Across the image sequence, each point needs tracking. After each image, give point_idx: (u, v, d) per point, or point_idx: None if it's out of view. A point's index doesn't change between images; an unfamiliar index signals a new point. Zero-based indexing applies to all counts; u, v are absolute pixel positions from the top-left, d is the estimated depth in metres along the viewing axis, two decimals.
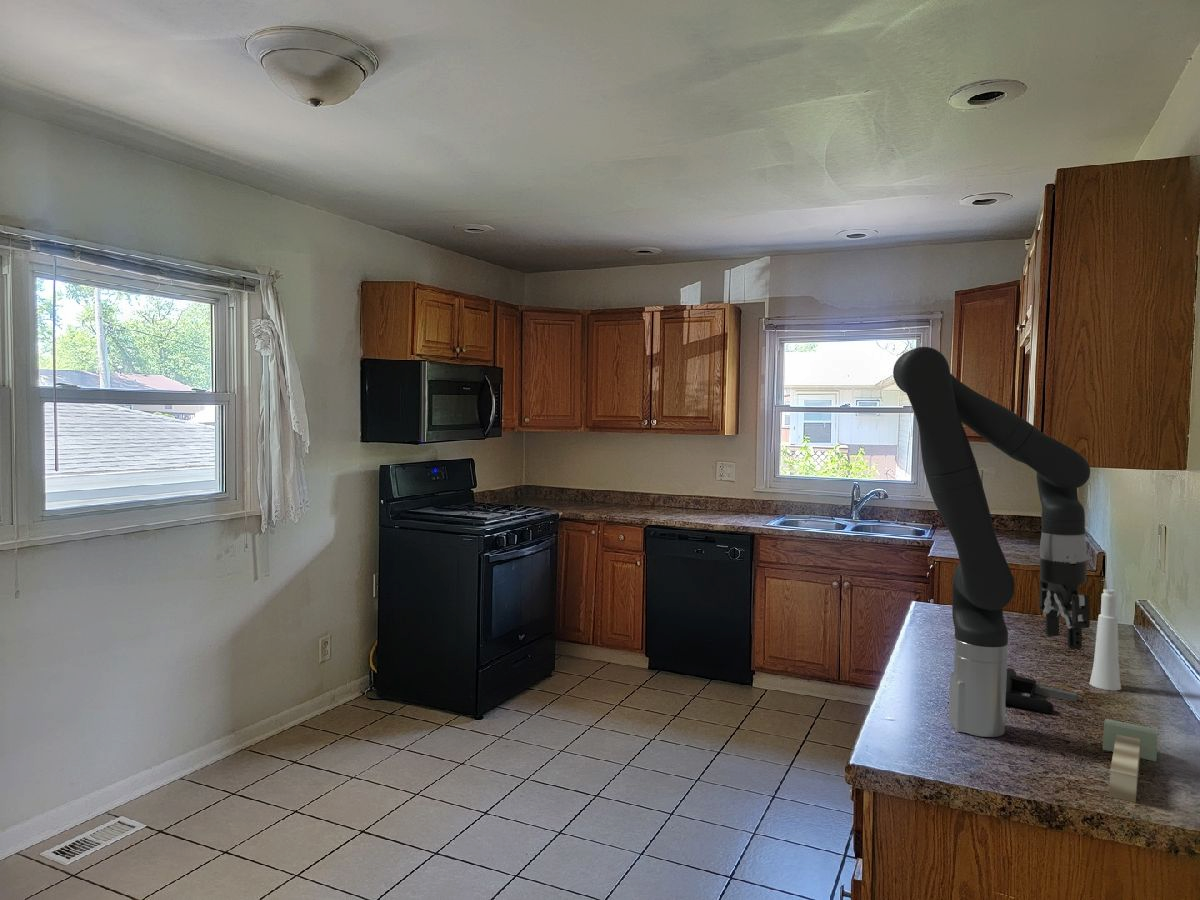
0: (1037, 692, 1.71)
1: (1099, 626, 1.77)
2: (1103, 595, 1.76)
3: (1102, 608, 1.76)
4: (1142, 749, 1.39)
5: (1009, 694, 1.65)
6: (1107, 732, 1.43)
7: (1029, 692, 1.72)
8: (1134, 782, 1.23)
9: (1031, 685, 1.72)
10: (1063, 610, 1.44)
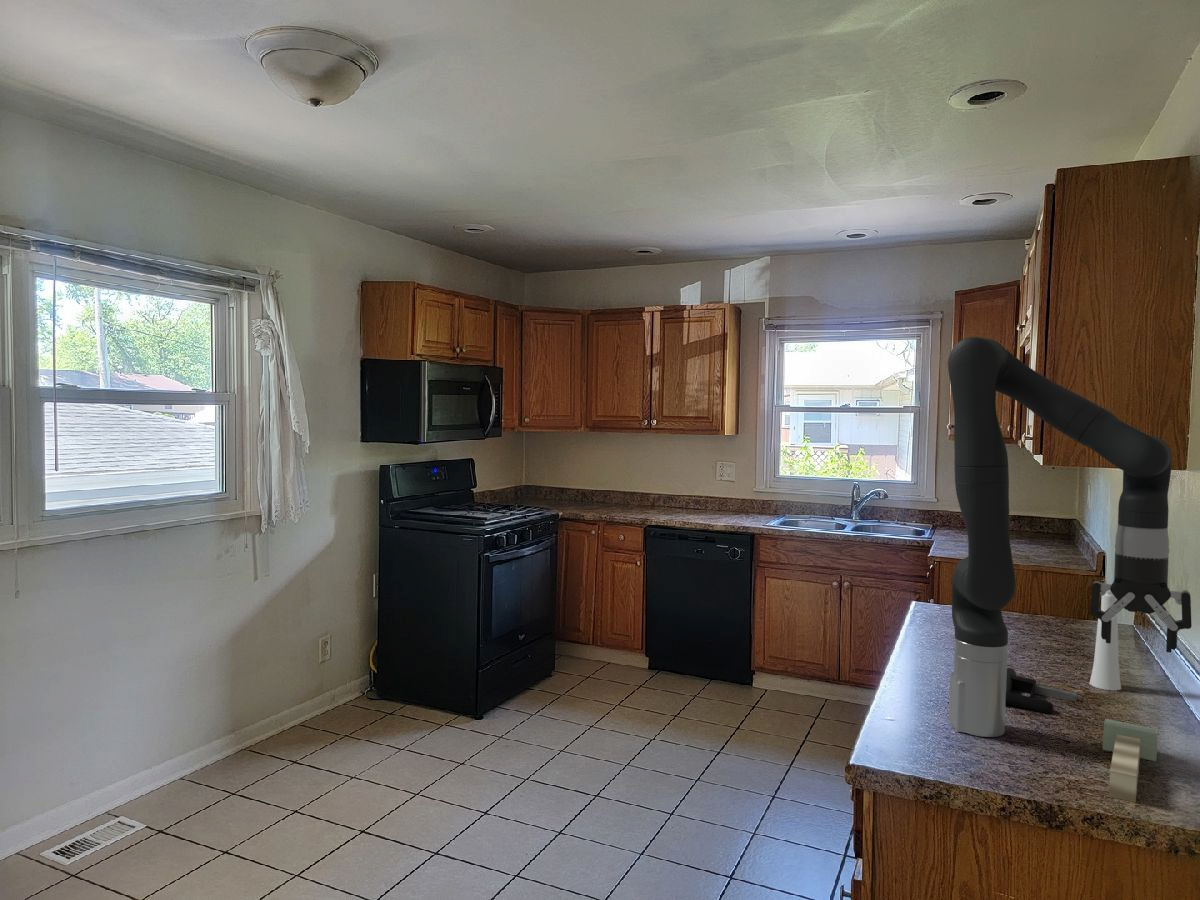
0: (1037, 692, 1.72)
1: (1099, 626, 1.77)
2: (1103, 595, 1.76)
3: (1102, 608, 1.76)
4: (1142, 749, 1.39)
5: (1009, 694, 1.65)
6: (1107, 732, 1.43)
7: (1029, 692, 1.72)
8: (1134, 782, 1.23)
9: (1031, 685, 1.72)
10: (1165, 611, 1.30)
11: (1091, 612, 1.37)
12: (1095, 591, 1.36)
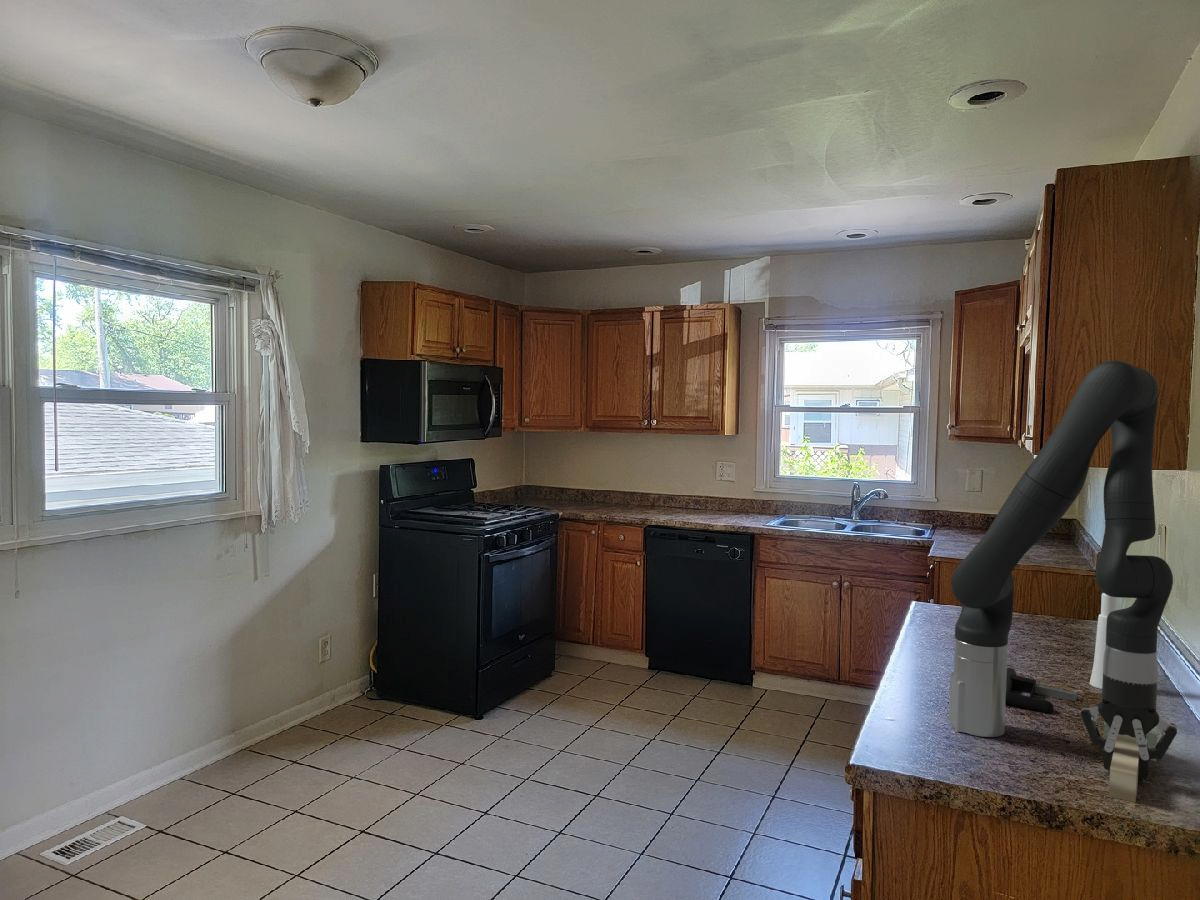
0: (1037, 692, 1.72)
1: (1099, 626, 1.77)
2: (1103, 595, 1.76)
3: (1102, 608, 1.76)
4: None
5: (1009, 693, 1.65)
6: (1107, 732, 1.43)
7: (1029, 692, 1.72)
8: (1134, 780, 1.23)
9: (1031, 685, 1.72)
10: (1144, 740, 1.28)
11: (1093, 741, 1.33)
12: (1086, 719, 1.33)
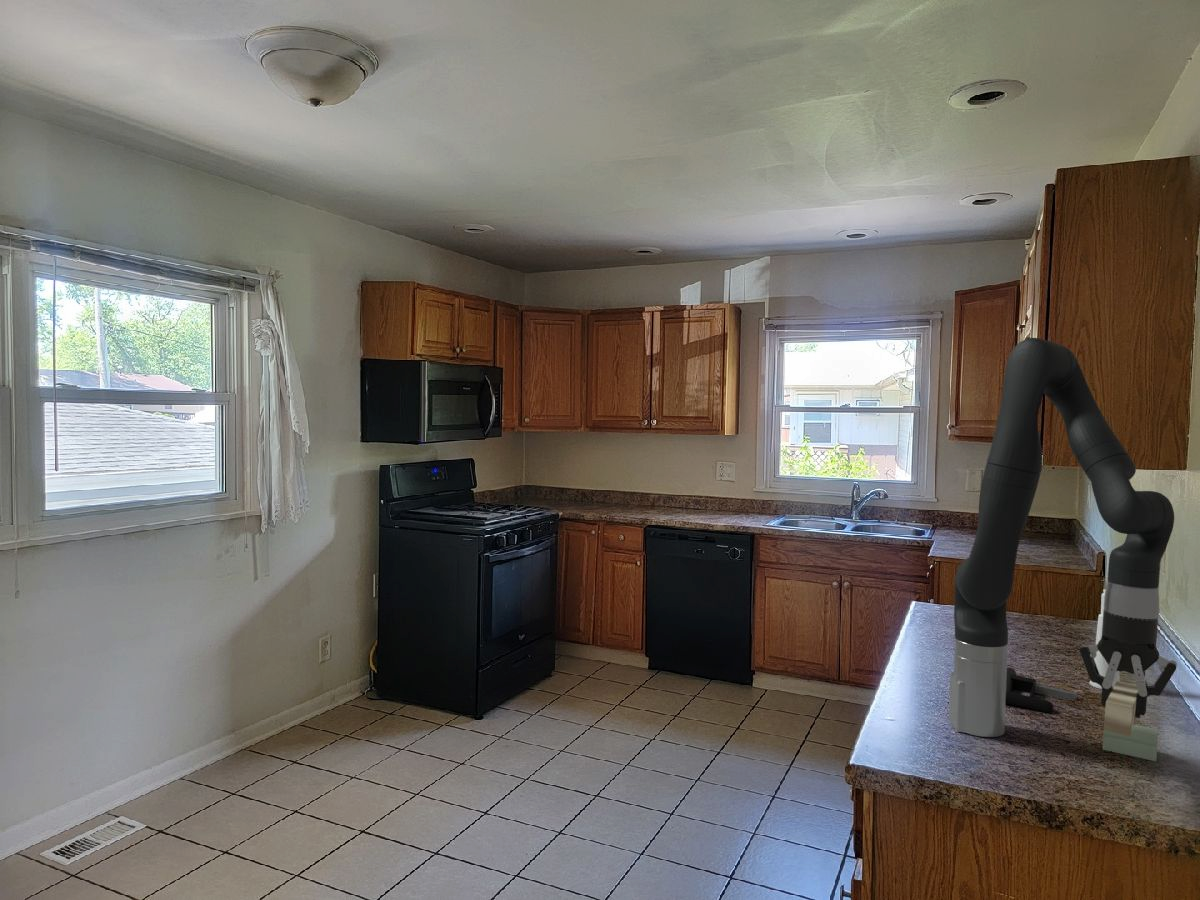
0: (1037, 691, 1.72)
1: (1099, 626, 1.77)
2: (1103, 595, 1.76)
3: (1102, 608, 1.76)
4: (1142, 749, 1.39)
5: (1009, 693, 1.65)
6: (1107, 732, 1.43)
7: (1029, 691, 1.72)
8: (1130, 713, 1.22)
9: (1031, 684, 1.72)
10: (1143, 676, 1.27)
11: (1091, 678, 1.32)
12: (1085, 656, 1.33)
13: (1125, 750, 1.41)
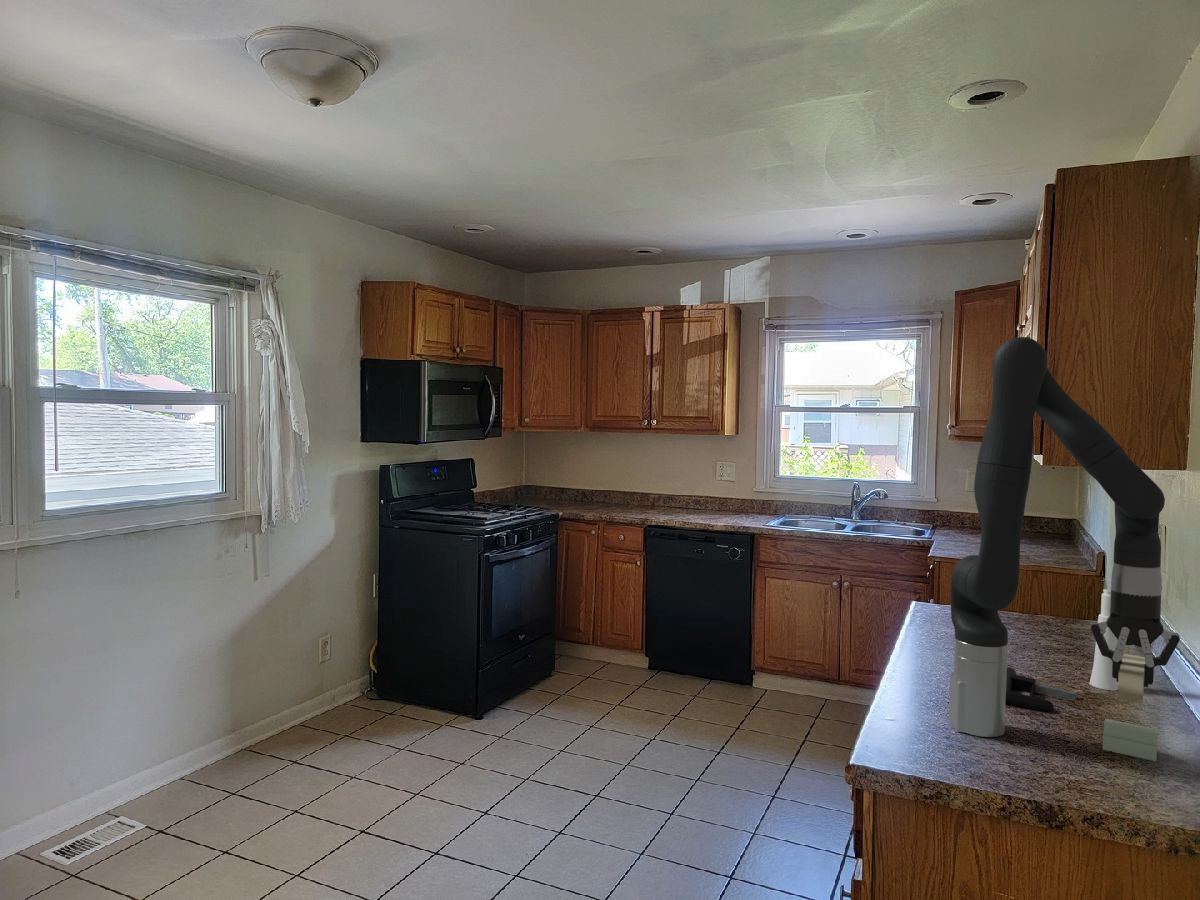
0: (1037, 691, 1.72)
1: None
2: (1103, 595, 1.76)
3: (1102, 608, 1.76)
4: (1142, 749, 1.39)
5: (1009, 693, 1.65)
6: (1107, 732, 1.43)
7: (1029, 691, 1.73)
8: (1141, 682, 1.34)
9: (1031, 684, 1.72)
10: (1150, 649, 1.39)
11: (1102, 652, 1.44)
12: (1096, 632, 1.44)
13: (1125, 750, 1.41)
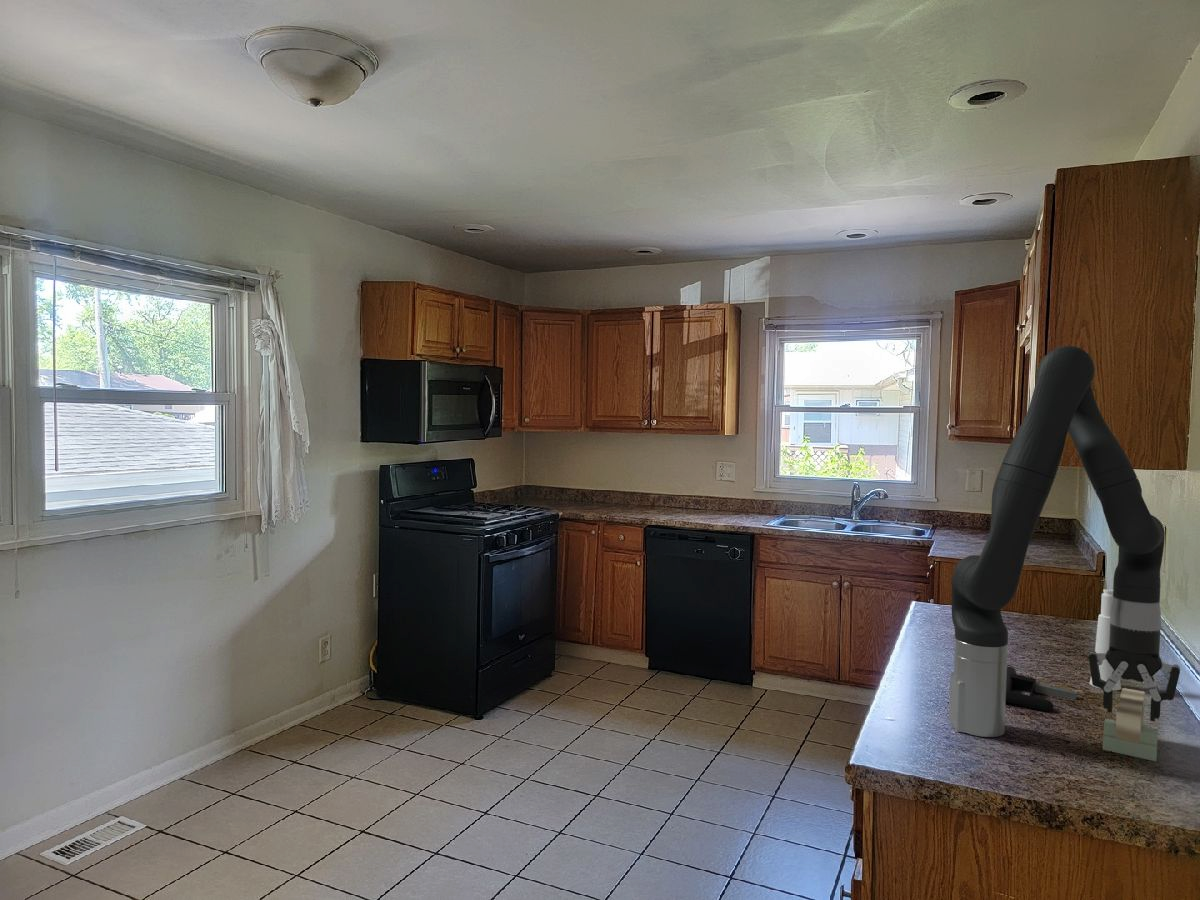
0: (1037, 690, 1.72)
1: (1099, 626, 1.77)
2: (1103, 595, 1.76)
3: (1102, 608, 1.76)
4: (1142, 749, 1.39)
5: (1009, 692, 1.65)
6: (1107, 732, 1.43)
7: (1029, 690, 1.73)
8: (1138, 722, 1.34)
9: (1031, 683, 1.72)
10: (1152, 682, 1.39)
11: (1093, 682, 1.44)
12: (1092, 662, 1.45)
13: (1125, 750, 1.41)
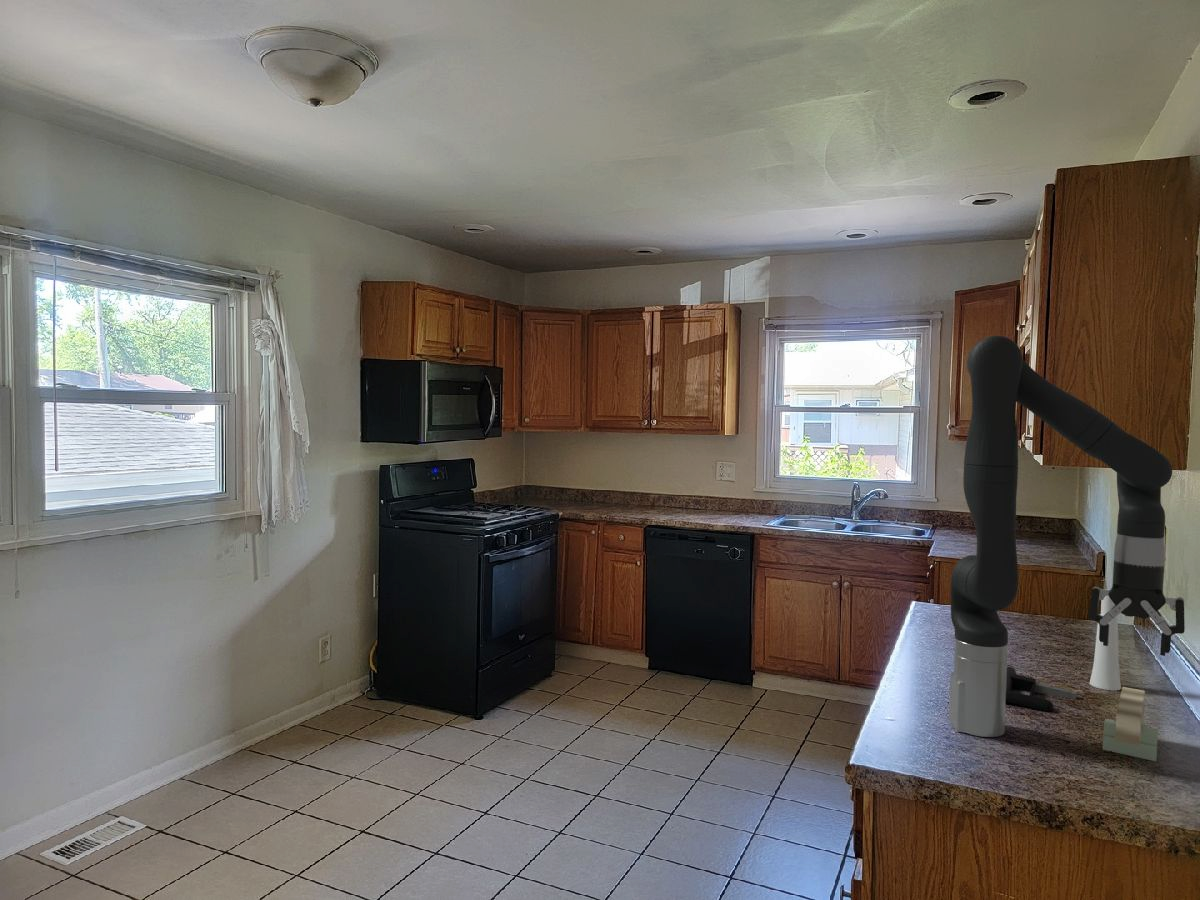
0: (1037, 690, 1.73)
1: (1099, 626, 1.77)
2: None
3: (1102, 608, 1.76)
4: (1142, 749, 1.39)
5: (1009, 692, 1.66)
6: (1107, 732, 1.43)
7: (1029, 690, 1.73)
8: (1138, 725, 1.34)
9: (1031, 683, 1.73)
10: (1159, 617, 1.38)
11: (1090, 616, 1.44)
12: (1094, 596, 1.44)
13: (1125, 750, 1.41)
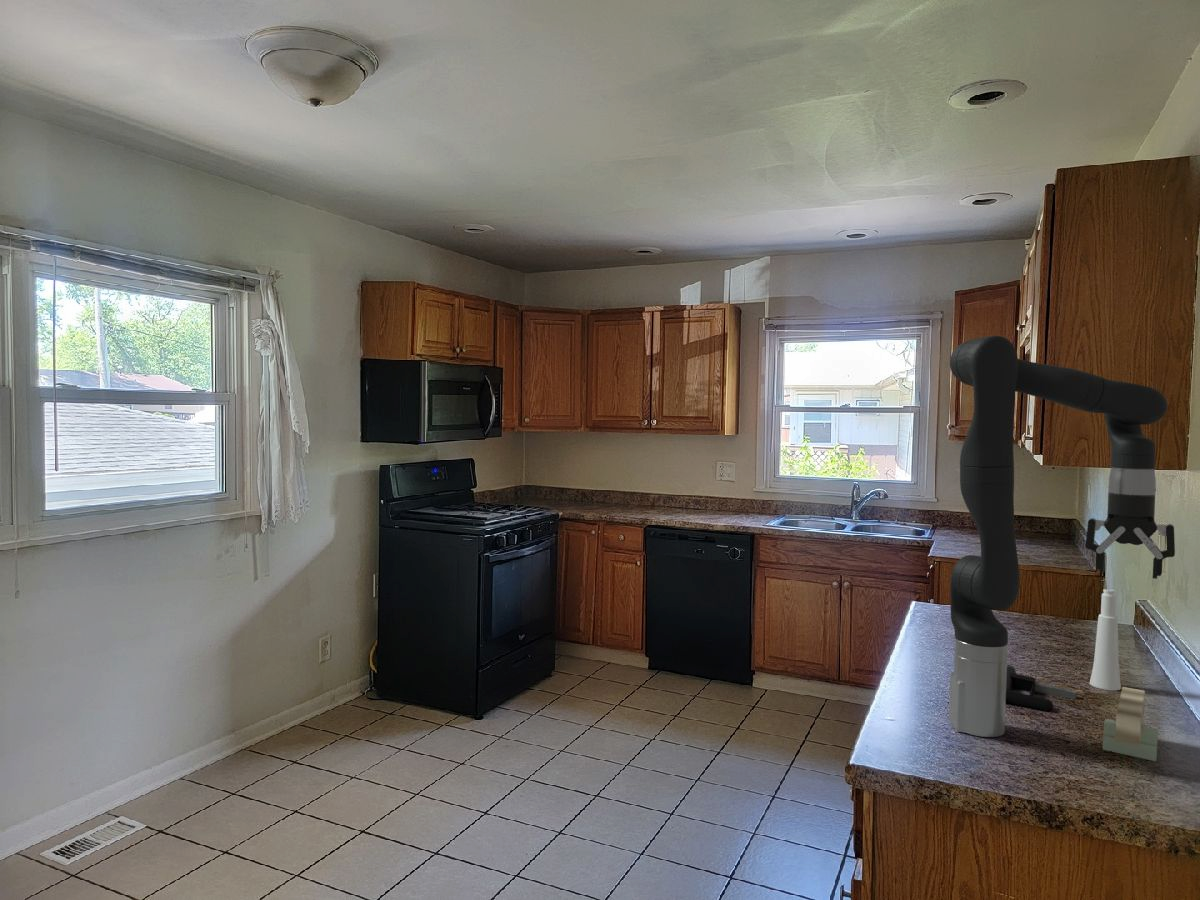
0: (1037, 690, 1.73)
1: (1099, 626, 1.77)
2: (1103, 595, 1.76)
3: (1102, 608, 1.76)
4: (1142, 749, 1.39)
5: (1009, 692, 1.66)
6: (1107, 732, 1.43)
7: (1029, 690, 1.73)
8: (1138, 725, 1.34)
9: (1031, 683, 1.73)
10: (1151, 542, 1.48)
11: (1087, 545, 1.55)
12: (1090, 526, 1.54)
13: (1125, 750, 1.41)
